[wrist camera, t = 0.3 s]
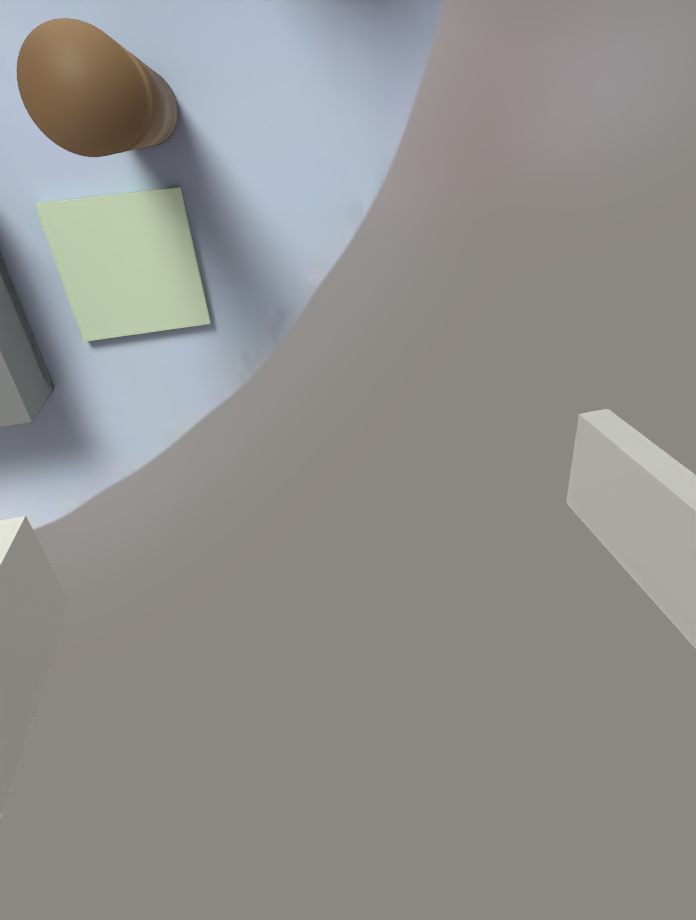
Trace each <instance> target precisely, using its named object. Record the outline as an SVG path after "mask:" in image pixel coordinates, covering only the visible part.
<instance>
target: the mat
mask: <svg viewBox="0 0 696 920" xmlns="http://www.w3.org/2000/svg"><path fill="white" fill-rule="evenodd" d="M35 207H36V210H37V213H38V215H39V218H40V221H41V224H42V227H43V229H44V232H45V235H46V238H47V241H48V243H49V246H50V249H51V252H52V255H53V257H54V260H55V263H56V266H57V269H58V271H59V274H60V277H61V280H62V283H63V285H64V288H65V291H66V294H67V297H68V299H69V302H70V305H71V308H72V311H73V314H74V316H75V319H76V322H77V325H78V328H79V330H80V333H81V336H82V339H83V342H86V341H93V340H100V339H107V338H114V337H121V336H128V335H135V334H142V333H149V332H156V331H163V330H170V329H177V328H184V327H191V326H198V325H205V324H210V323H211V320H210V316H209V311H208V307H207V302H206V298H205V294H204V289H203V285H202V280H201V276H200V271H199V267H198V262H197V258H196V253H195V249H194V244H193V240H192V236H191V231H190V227H189V222H188V218H187V213H186V209H185V204H184V200H183V195H182V191H181V187H175V188H166V189H158V190H149V191H140V192H131V193H122V194H114V195H105V196H96V197H87V198H79V199H70V200H61V201H52V202H44V203H37V204H35Z"/></svg>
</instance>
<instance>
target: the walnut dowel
mask: <svg viewBox="0 0 696 920" xmlns="http://www.w3.org/2000/svg"><path fill="white" fill-rule="evenodd" d="M17 81H18V87H19V91H20V95H21V98H22V100H23V103H24V105H25V108H26V109H27V111H28V113H29V115H30V117H31V118H32V120H33V121H34V123H35V124H36V125H37V126H38V128H39V129H40V130H41V131H42V132H43V133H44V134H45V135H46V136H47V137H48V138H49V139H50V140H52V141H53V142H54V143H56V144H57V145H59V146H60V147H62V148H64V149H66V150H67V151H69V152H72V153H75V154H78V155H82V156H88V157H101V156H107V155H112V154H116V153H121V152H125V151H130V150H135V149H139V148H144V147H149V146H153V145H157V144H160V143H162V142H164V141H166V140H167V139H168V138H169V137H170V136H171V135H172V133H173V132H174V130H175V128H176V125H177V121H178V106H177V101H176V98H175V96H174V93H173V91H172V89H171V88H170V86H169V85H168V84H167V82H166V81H165V80H164V79H163V78H162V77H161V76H160V75H158V74H157V73H156V72H154V71H153V70H152V69H151V68H149V67H148V66H147V65H145V64H144V63H143V62H142V61H140V60H139V59H138V58H136V57H135V56H134V55H133V54H131V53H130V52H129V51H127V50H126V49H125V48H124V47H122V46H121V45H120V44H118V43H117V42H116V41H115V40H113V39H112V38H111V37H109V36H108V35H107V34H106V33H104V32H103V31H101V30H100V29H98V28H96V27H95V26H93V25H91V24H88V23H86V22H83V21H80V20H75V19H69V18H60V19H54V20H50V21H47V22H44V23H43V24H41V25H39V26H37V27H36V28H35V29H34V30H33V31H32V32H31V33H30V34H29V35H28V36H27V38H26V39H25V41H24V43H23V44H22V47H21V49H20V52H19V56H18V61H17Z"/></svg>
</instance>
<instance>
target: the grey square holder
mask: <svg viewBox="0 0 696 920" xmlns="http://www.w3.org/2000/svg"><path fill="white" fill-rule="evenodd" d="M53 390H54V386H53V384H52V381H51V379H50V376H49V374H48V371H47V369H46V366H45V364H44V361H43V359H42V356H41V354H40V351H39V349H38V346H37V344H36V342H35V339H34V337H33V334H32V332H31V329H30V327H29V324H28V322H27V319H26V317H25V314H24V312H23V309H22V307H21V304H20V302H19V300H18V297H17V295H16V292H15V290H14V287H13V285H12V282H11V280H10V277H9V275H8V272H7V270H6V267H5V265H4V262H3V260H2V258H1V255H0V427H4V426H11V425H17V424H24V423H30V422H32V421H33V420H34V418H35V417H36V415H37V414H38V412H39V411H40V409H41V408H42V406H43V405H44V403H45V402H46V400H47V399H48V397H49V396H50V395H51V393H52V392H53Z"/></svg>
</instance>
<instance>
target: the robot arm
mask: <svg viewBox="0 0 696 920" xmlns="http://www.w3.org/2000/svg"><path fill="white" fill-rule="evenodd" d="M566 503H567V505H569V507H570V508H571V509H572V510H573V511H574V512H575V514H576V515H577V516H578V517H579V518H580V519H581V520H582V521H583V523H584V524H585V525H586V526H587V527H588V528H589V529H590V531H591V532H592V533H593V534H594V535H595V536H596V537H597V538H598V539H599V541H600V542H601V543H602V544H603V545H604V546H605V547H606V548H607V550H608V551H609V552H610V553H611V554H612V555H613V556H614V558H615V559H616V560H617V561H618V562H619V563H620V564H621V565H622V566H623V568H624V569H625V570H626V571H627V572H628V573H629V574H630V576H631V577H632V578H633V579H634V580H635V581H636V582H637V584H638V585H639V586H640V587H641V588H642V589H643V590H644V591H645V593H646V594H647V595H648V596H649V597H650V598H651V599H652V600H653V602H654V603H655V604H656V605H657V606H658V607H659V608H660V609H661V611H662V612H663V613H664V614H665V615H666V616H667V617H668V619H670V621H671V622H672V623H673V624H674V625H675V626H676V628H677V629H678V630H679V631H680V632H681V633H682V634H683V635H684V637H685V638H686V639H687V640H688V641H689V642H690V643H691V644H692V646H693V647H694V648H695V649H696V475H695V474H694V473H692V472H691V471H690V470H688V469H687V468H686V467H684V466H683V465H682V464H680V463H679V462H678V461H676V460H675V459H674V458H672V457H671V456H670V455H669V454H667V453H666V452H665V451H663V450H662V449H661V448H659V447H658V446H656V445H655V444H654V443H653V442H651V441H650V440H649V439H647V438H646V437H645V436H643V435H642V434H641V433H639V432H638V431H637V430H635V429H634V428H633V427H631V426H630V425H629V424H627V423H626V422H625V421H624V420H622V419H621V418H619V417H618V416H617V415H615V414H614V413H613V412H612V411H610V410H609V409H604V410H598V411H593V412H588V413H582V414H579V417H578V424H577V432H576V438H575V445H574V453H573V459H572V466H571V473H570V479H569V486H568V494H567V500H566ZM70 606H71V601H70V599H69V597H68V595H67V593H66V591H65V589H64V587H63V585H62V584H61V582H60V580H59V578H58V576H57V574H56V573H55V570H54V568H53V567H52V565H51V563H50V561H49V559H48V557H47V555H46V553H45V551H44V550H43V548H42V546H41V544H40V542H39V540H38V538H37V536H36V534H35V532H34V531H33V529H32V527H31V525H30V523H29V521H28V519H27V517H26V516H22V517H16V518H11V519H5V520H0V821H1V818H2V815H3V812H4V809H5V806H6V803H7V800H8V797H9V794H10V790H11V787H12V784H13V781H14V778H15V775H16V772H17V769H18V765H19V763H20V759H21V757H22V753H23V750H24V747H25V744H26V741H27V738H28V735H29V732H30V729H31V726H32V723H33V720H34V717H35V713H36V710H37V707H38V704H39V701H40V698H41V695H42V692H43V689H44V685H45V682H46V680H47V676H48V673H49V670H50V667H51V664H52V661H53V657H54V655H55V652H56V649H57V646H58V643H59V639H60V636H61V633H62V630H63V627H64V624H65V621H66V618H67V615H68V612H69V608H70Z"/></svg>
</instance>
